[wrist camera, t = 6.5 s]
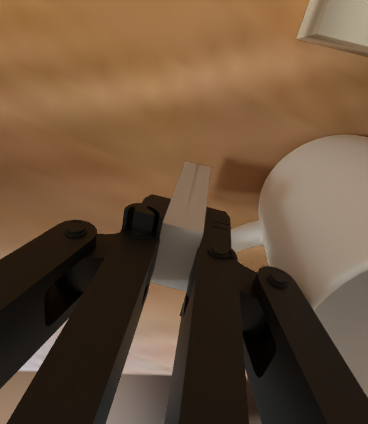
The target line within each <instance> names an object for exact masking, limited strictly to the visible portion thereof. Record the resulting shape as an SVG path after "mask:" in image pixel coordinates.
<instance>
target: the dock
mask: <svg viewBox="0 0 368 424" xmlns="http://www.w3.org/2000/svg"><path fill="white" fill-rule="evenodd" d="M296 39H298V40H302V41H306V42H310V43H314V44H318V45H322V46H326V47H330V48H334V49H338V50H342V51H346V52H350V53H354V54H358V55H362V56H366V57H368V0H310V1H309V4H308V7H307V10H306V12H305V15H304V18H303V21H302V24H301V27H300V29H299V32H298V35H297V38H296Z"/></svg>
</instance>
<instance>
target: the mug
mask: <svg viewBox="0 0 368 424" xmlns="http://www.w3.org/2000/svg"><path fill="white" fill-rule="evenodd" d="M258 215H259V220H257V221H253V222H249V223H246V224H243V225H240V226H237V227H235V228H233V229H231V248H232V249H233V250H234V251H235V253H237V252H239V251H242V250H244V249H247V248H251V247H256V246H262V245H264V248H265V253H266V257H267V262H268V266H271V267H276V268H279V269H281V270H283V271H285V272H286V273H288V274H289V275H290V276H291V277H292V278H293V279H294V280H295V281H296V283H297V284H298V286H299V288H300V289H301V291H302V293H303V294H304V296H305V297H306V299H307V301H308V302H309V304H310V305H311V307H312V309H313V310H314V312H315V314H316V315H317V317H318V318H319V320H320V322H321V323H322V325H323V326H324V328H325V330H326V331H327V333H328V334H329V336H330V338H331V339H332V341H333V343H334V344H335V346H336V347H337V349H338V351H339V352H340V354H341V355H342V357H343V359H344V360H345V362H346V364H347V365H348V367H349V368H350V370H351V372H352V373H353V375H354V376H355V378H356V380H357V381H358V383H359V385H360V386H361V388H362V389H363V391H364V393H365V394H366V396H367V397H368V137H364V136H359V135H347V134H343V135H332V136H326V137H322V138H319V139H315V140H312V141H310V142H308V143H305V144H303V145H301V146H300V147H298V148H296V149H294V150H293V151H292V152H290V153H289V154H287V155H286V156H285V157H284V158H283V159H282V160H281V161H279V162H278V163H277V165H276V166H275V167H274V168H273V169H272V171H271V172H270V174H269V175H268V177H267V178H266V180H265V183H264V185H263V187H262V190H261V193H260V198H259V208H258Z"/></svg>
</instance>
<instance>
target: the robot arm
mask: <svg viewBox="0 0 368 424" xmlns="http://www.w3.org/2000/svg"><path fill="white" fill-rule="evenodd" d="M210 170H211V167H208V166H203V165H199V164H195V163H191V162H187V161H185V163H184V166H183V169H182V171H181V174H180V177H179V179H178V182H177V185H176V188H175V190H174V193H173V196H172V199H169V198H165V197H161V196H157V195H150V196H148V197H146V198H145V199H144V200H143V202H142V203H135V204H131V205H128V206H127V207H126V208H125V209H124V217H123V225H122V230H121V231H120V233H116V234H97V229H96V228H95V226H94V225H92V224H91V223H89V222H86V221H82V220H70V221H65V222H62V223H60V224H58V225H56V226H55V227H53V228H51V229H50V230H48V231H47V232H45V233H43V234H42V235H40V236H38V237H37V238H35V239H33V240H32V241H30V242H28V243H27V244H25V245H23V246H22V247H20V248H19V249H17V250H15V251H14V252H12V253H10V254H9V255H7V256H5V257H4V258H2V259H0V389H1V387H2V386H3V385H4V384H5V383H6V382H7V381H8V380H9V379H10V378H11V377H12V376H13V375H14V374H15V373H16V372H17V371H18V370H19V369H20V368H21V367H22V366H23V365H24V364H25V363H26V362H27V361H28V360H29V359H30V358H31V357H32V356H33V355H34V353H35V352H36V351H37V350H38V349H39V348H40V347H41V346H42V345H43V344H44V343H45V342H46V341H47V340H48V339H49V338H50V337H51V336H52V335H53V334H54V333H55V332H56V331H57V330H58V329H59V328H60V327H61V326H62V325H63V323H64V322H65V321H66V320H67V319H68V318H69V317H70V318H69V319H68V321H67V323H66V324H65V326H64V328H63V329H62V331H61V333H60V334H59V336H58V338H57V339H56V341H55V343H54V345H53V346H52V348H51V350H50V351H49V353H48V355H47V356H46V358H45V360H44V361H43V363H42V365H41V366H40V368H39V370H38V372H37V373H36V375H35V377H34V378H33V380H32V382H31V383H30V385H29V387H28V388H27V390H26V392H25V394H24V395H23V397H22V399H21V401H20V402H19V404H18V405H17V407H16V409H15V410H14V412H13V414H12V416H11V417H10V419H9V420H8V422H7V424H106V420H107V417H108V414H109V411H110V408H111V405H112V402H113V399H114V396H115V393H116V390H117V387H118V383H119V380H120V377H121V374H122V371H123V368H124V365H125V362H126V359H127V356H128V352H129V349H130V346H131V343H132V340H133V337H134V334H135V331H136V328H137V325H138V321H139V318H140V315H141V312H142V309H143V306H144V303H145V300H146V297H147V293H148V289H149V284H150V282H151V283H155V284H159V285H163V286H167V287H171V288H175V289H179V290H183V291H186V290H187V293H186V296H185V299H184V303H183V306H182V309H181V313H180V316H181V323H180V329H179V335H178V342H177V348H176V354H175V360H174V367H173V373H172V379H171V385H170V392H169V398H168V404H167V410H166V417H165V423H164V424H249V419H248V405H247V391H246V376H245V369H246V373H247V376H248V379H249V382H250V386H251V389H252V392H253V395H254V399H255V402H256V405H257V408H258V412H259V415H260V418H261V422H262V424H368V397H367V396H366V394H365V393H364V391H363V389H362V388H361V386H360V385H359V383H358V381H357V380H356V378H355V376H354V375H353V373H352V372H351V370H350V368H349V367H348V365H347V364H346V362H345V360H344V359H343V357H342V355H341V354H340V352H339V351H338V349H337V347H336V346H335V344H334V343H333V341H332V339H331V338H330V336H329V334H328V333H327V331H326V330H325V328H324V326H323V325H322V323H321V322H320V320H319V318H318V317H317V315H316V314H315V312H314V310H313V309H312V307H311V305H310V304H309V302H308V301H307V299H306V297H305V296H304V294H303V293H302V291H301V289H300V288H299V286H298V284H297V283H296V281H295V280H294V279H293V278H292V277H291V276H290V275H289V274H288V273H286V272H285V271H283V270H281V269H279V268H276V267H271V266H266V267H262V268H260V269H259V271H258V273H257V272H255V271H253V270H251V269H248V268H247V267H245V266H243V265H242V264H240V263H239V262H238V261H237V255H236V253H235V251H234V250H233V249H232V248H231V226H230V217H229V216H228V215H227V213H226V212H224V211H220V210H216V209H212V208H208V207H206V206H207V197H208V188H209V179H210Z"/></svg>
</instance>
